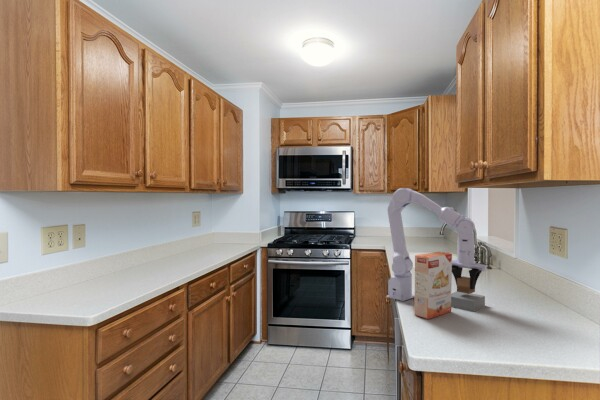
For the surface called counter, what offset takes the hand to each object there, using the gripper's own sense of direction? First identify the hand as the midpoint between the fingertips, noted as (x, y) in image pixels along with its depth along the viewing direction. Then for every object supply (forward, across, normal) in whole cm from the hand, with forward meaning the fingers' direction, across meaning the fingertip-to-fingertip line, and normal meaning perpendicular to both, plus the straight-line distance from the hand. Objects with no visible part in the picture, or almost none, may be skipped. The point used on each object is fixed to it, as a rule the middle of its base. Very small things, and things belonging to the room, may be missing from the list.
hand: (465, 287), depth 134 cm
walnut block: (+2, 0, 0) cm, 2 cm away
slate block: (+7, 0, 0) cm, 7 cm away
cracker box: (+7, +3, +18) cm, 19 cm away
